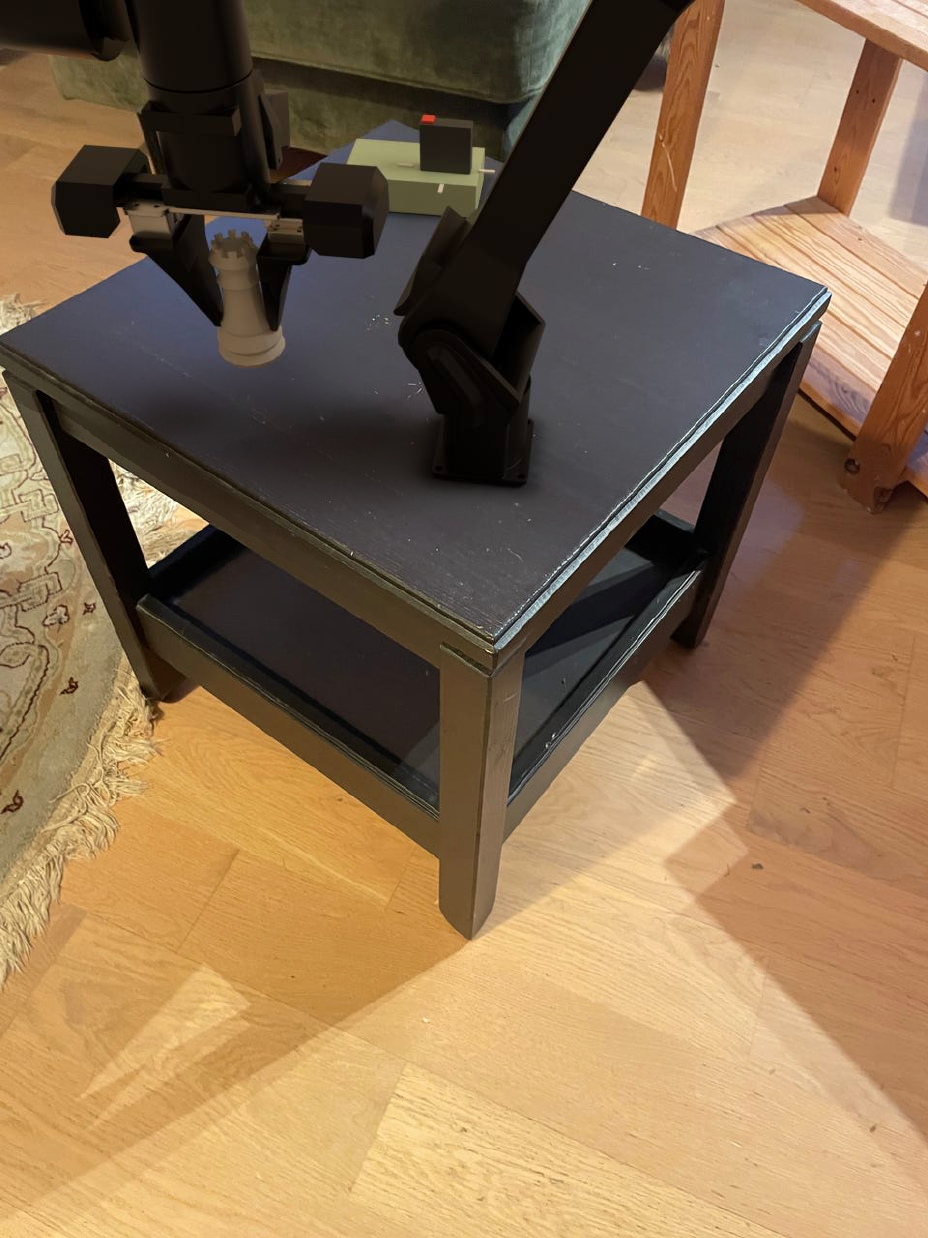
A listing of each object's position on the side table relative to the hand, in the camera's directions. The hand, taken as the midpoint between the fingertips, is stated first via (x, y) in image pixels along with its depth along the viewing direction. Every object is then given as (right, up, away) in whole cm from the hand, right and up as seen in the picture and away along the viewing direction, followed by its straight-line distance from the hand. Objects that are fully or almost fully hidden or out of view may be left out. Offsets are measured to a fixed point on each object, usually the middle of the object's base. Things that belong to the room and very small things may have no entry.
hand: (248, 325), depth 61 cm
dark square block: (+13, +21, +22) cm, 33 cm away
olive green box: (+10, +19, +24) cm, 33 cm away
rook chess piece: (0, -1, +2) cm, 2 cm away
